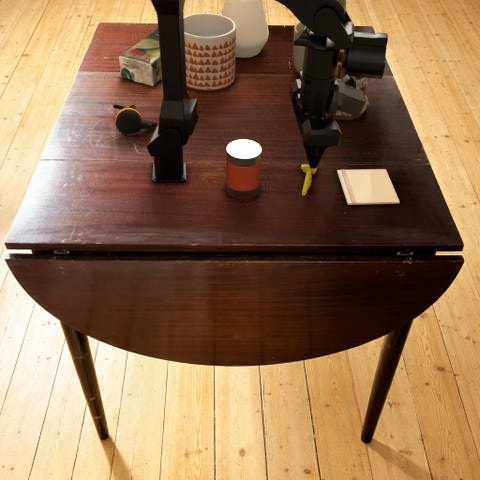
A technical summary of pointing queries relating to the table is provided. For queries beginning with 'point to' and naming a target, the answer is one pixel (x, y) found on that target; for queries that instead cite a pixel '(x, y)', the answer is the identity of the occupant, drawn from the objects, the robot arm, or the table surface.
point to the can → (243, 169)
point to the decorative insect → (307, 177)
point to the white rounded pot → (247, 25)
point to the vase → (209, 51)
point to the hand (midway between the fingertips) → (309, 154)
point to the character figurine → (131, 120)
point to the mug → (360, 83)
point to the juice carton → (142, 61)
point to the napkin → (367, 187)
